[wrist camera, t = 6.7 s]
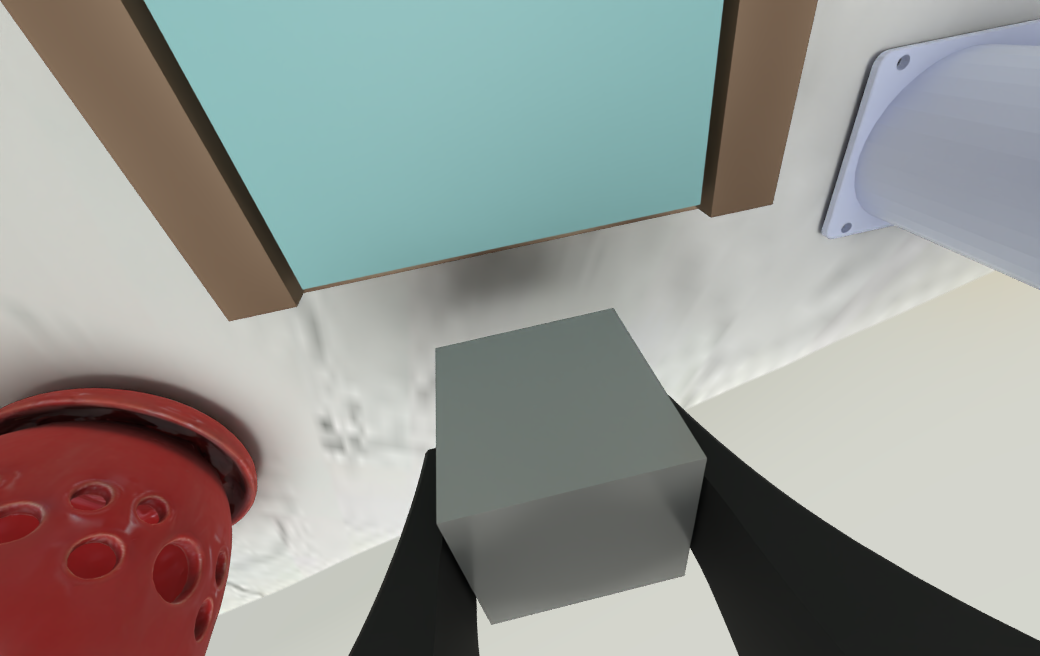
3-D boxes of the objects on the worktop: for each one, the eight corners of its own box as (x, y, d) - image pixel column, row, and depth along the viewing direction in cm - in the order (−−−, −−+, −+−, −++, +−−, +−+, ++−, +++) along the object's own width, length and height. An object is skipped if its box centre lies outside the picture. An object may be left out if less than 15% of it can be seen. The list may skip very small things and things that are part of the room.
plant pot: (237, 350, 20) (56, 655, 10) (294, 508, 27) (220, 768, 18) (-115, 357, 17) (-783, 769, 8) (55, 528, 25) (-180, 845, 15)
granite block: (613, 308, 12) (707, 458, 8) (616, 424, 15) (684, 575, 11) (435, 348, 11) (436, 524, 7) (475, 458, 14) (491, 624, 10)
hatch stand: (727, -410, 10) (995, -802, 5) (678, 191, 19) (762, 250, 14) (1, -301, 9) (-456, -639, 5) (303, 271, 18) (257, 361, 13)
